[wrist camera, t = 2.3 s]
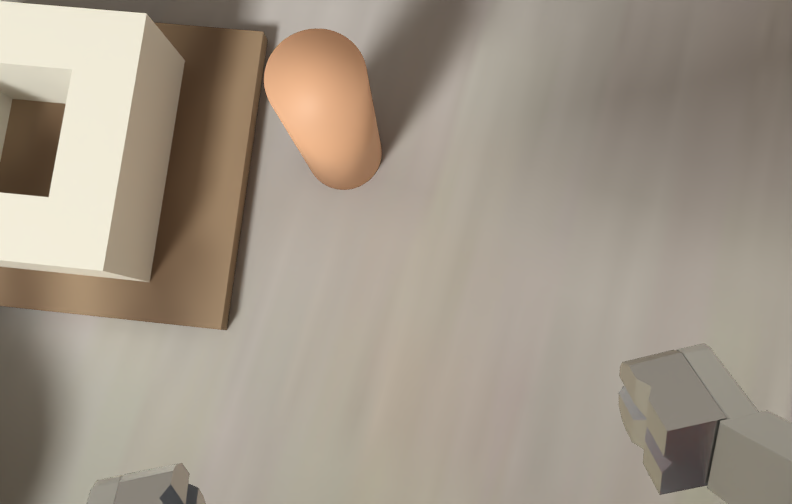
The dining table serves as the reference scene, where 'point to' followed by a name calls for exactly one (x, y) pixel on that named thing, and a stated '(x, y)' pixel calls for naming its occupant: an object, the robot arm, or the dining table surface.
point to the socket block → (90, 137)
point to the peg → (326, 105)
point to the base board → (183, 195)
